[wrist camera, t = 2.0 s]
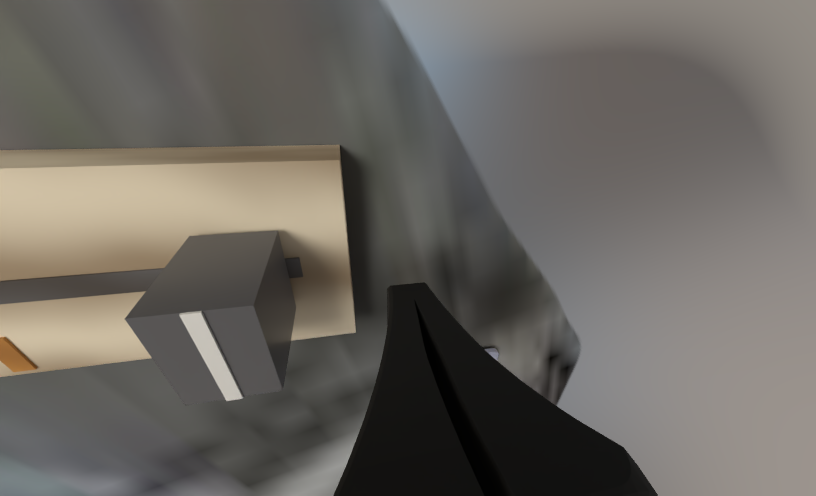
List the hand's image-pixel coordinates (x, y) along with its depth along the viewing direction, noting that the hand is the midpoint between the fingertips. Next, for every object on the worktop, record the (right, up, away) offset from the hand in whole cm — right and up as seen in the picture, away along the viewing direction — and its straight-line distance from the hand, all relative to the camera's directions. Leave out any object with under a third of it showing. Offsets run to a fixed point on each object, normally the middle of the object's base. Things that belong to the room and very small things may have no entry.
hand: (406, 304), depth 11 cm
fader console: (-13, +2, +2) cm, 13 cm away
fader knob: (-6, +1, +1) cm, 7 cm away
